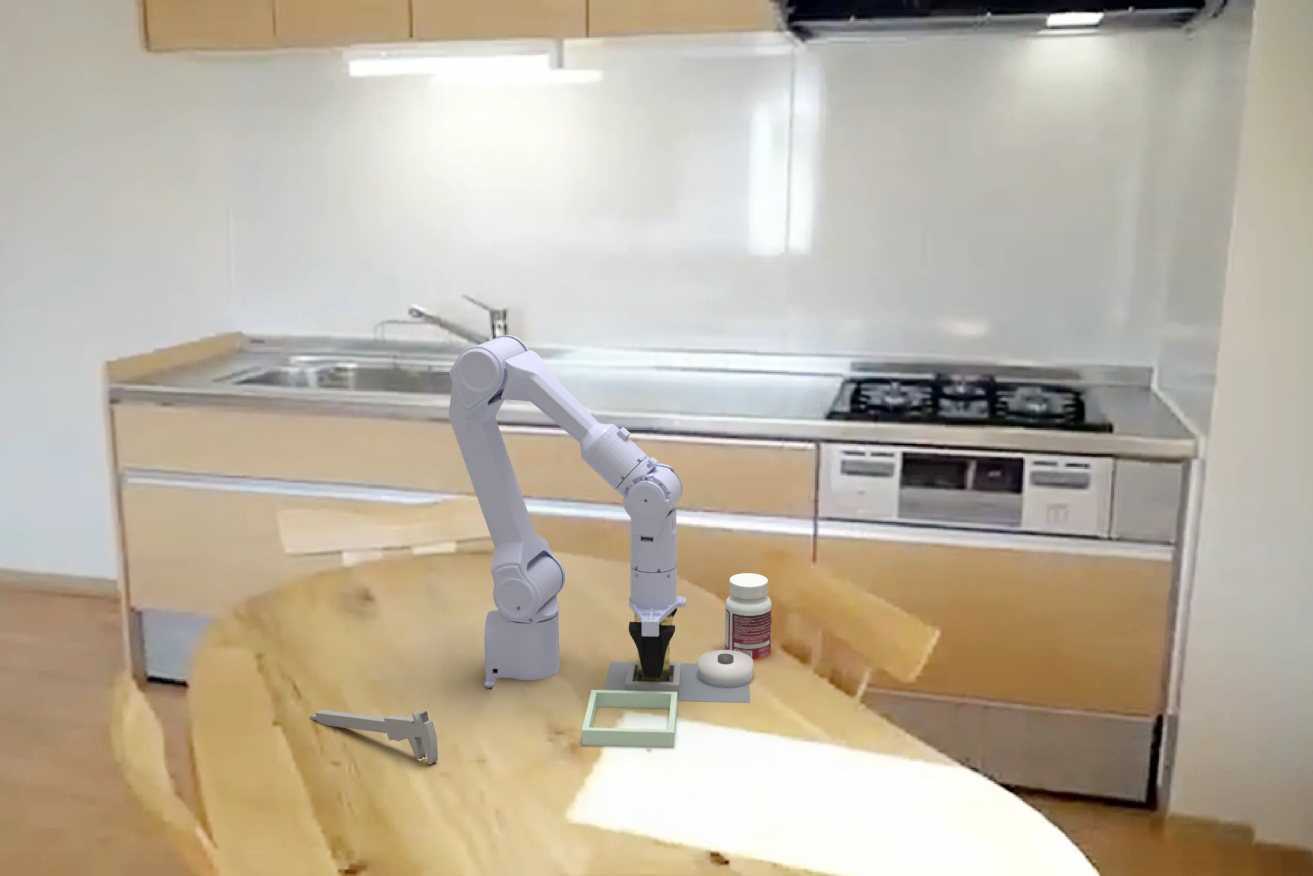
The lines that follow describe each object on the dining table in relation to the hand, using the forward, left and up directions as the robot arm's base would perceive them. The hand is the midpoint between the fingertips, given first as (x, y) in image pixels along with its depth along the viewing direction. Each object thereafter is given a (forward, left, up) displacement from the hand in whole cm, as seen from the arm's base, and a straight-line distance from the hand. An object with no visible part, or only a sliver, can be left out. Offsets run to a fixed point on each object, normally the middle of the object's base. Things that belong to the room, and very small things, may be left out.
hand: (653, 668), depth 154 cm
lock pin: (0, 0, -2) cm, 2 cm away
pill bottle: (+12, +11, -4) cm, 17 cm away
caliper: (-32, -14, -4) cm, 35 cm away
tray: (-2, -11, -3) cm, 12 cm away
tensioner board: (+3, +1, -3) cm, 5 cm away
